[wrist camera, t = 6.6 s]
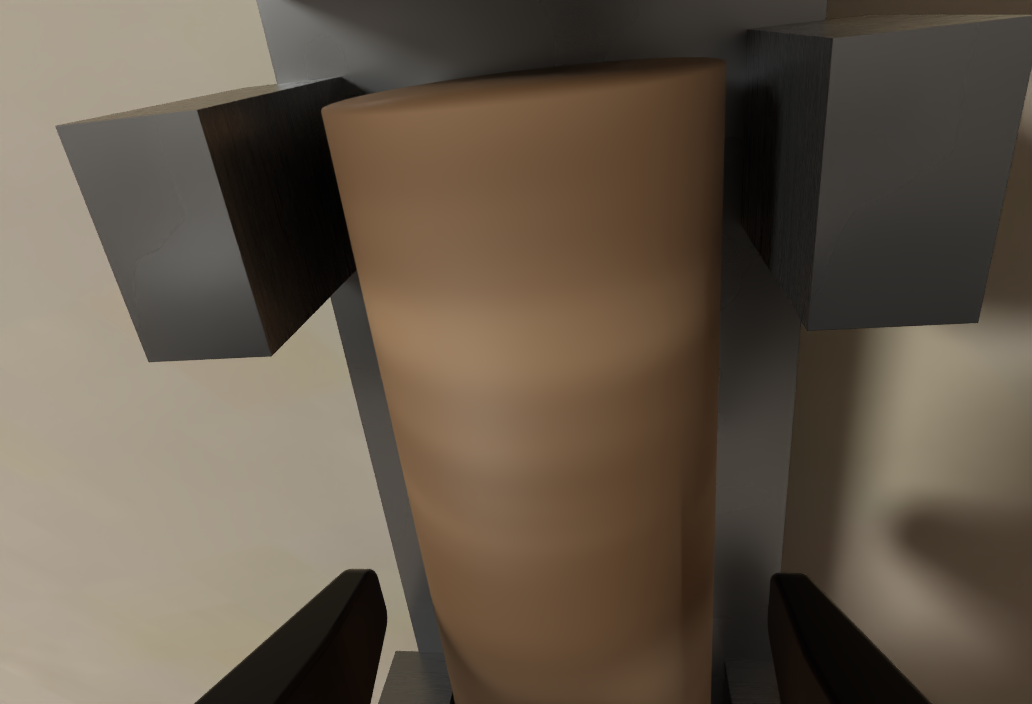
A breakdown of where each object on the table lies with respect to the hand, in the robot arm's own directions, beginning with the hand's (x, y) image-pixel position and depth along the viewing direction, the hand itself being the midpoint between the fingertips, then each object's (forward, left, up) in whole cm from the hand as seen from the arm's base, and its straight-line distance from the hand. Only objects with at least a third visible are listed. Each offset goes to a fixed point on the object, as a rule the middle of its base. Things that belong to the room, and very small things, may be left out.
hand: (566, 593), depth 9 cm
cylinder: (0, 0, -2) cm, 2 cm away
